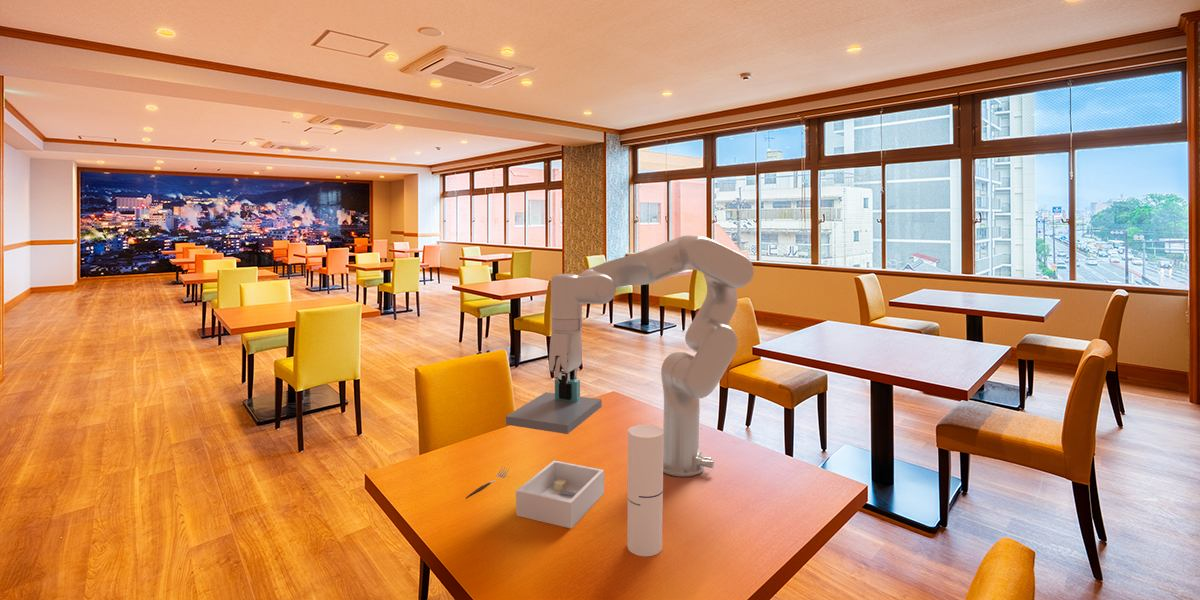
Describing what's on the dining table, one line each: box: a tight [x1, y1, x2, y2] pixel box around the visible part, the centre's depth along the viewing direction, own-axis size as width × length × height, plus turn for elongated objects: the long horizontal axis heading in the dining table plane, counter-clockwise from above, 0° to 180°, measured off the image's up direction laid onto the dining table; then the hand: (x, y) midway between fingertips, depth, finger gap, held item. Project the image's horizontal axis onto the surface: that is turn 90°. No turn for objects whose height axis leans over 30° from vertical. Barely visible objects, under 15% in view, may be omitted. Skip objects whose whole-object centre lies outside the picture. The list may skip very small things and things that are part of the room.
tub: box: [515, 460, 605, 530], centre depth 138 cm, size 14×18×6 cm
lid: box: [505, 378, 603, 435], centre depth 138 cm, size 16×20×7 cm
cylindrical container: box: [626, 424, 664, 557], centre depth 118 cm, size 7×7×25 cm
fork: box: [465, 466, 510, 499], centre depth 148 cm, size 3×16×2 cm, turn 152°
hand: (567, 396), depth 145 cm, fingers closed on lid
